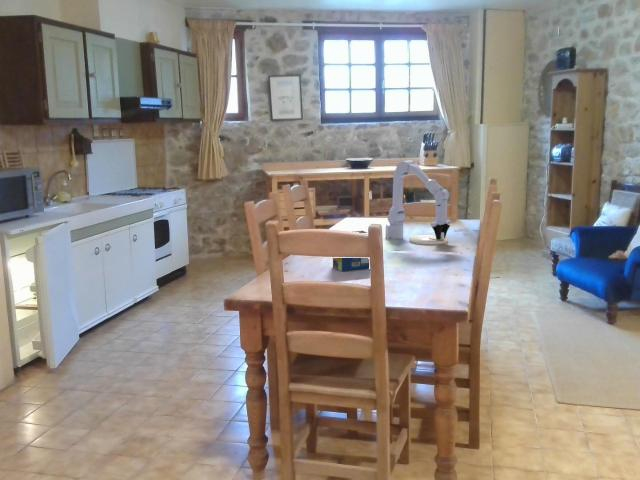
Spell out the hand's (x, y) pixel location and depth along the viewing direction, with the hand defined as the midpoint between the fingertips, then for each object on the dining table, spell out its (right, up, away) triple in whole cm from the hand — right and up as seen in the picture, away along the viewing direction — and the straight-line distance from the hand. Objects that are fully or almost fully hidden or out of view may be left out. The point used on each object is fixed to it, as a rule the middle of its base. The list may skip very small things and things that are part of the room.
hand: (440, 238), depth 316 cm
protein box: (-48, -13, -45) cm, 67 cm away
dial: (-5, -1, +6) cm, 8 cm away
